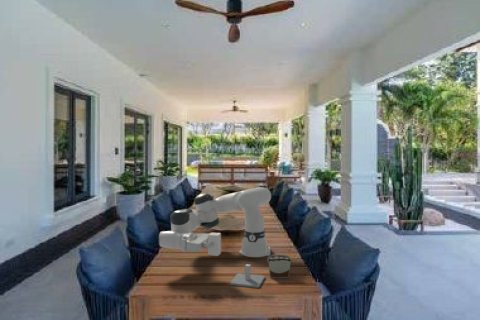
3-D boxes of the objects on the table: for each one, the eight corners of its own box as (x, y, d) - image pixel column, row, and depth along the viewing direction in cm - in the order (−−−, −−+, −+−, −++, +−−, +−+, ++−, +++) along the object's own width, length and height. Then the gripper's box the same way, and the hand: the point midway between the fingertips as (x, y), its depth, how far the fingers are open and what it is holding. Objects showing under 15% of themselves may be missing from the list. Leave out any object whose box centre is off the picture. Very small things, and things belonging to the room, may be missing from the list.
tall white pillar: (211, 252, 207) (211, 232, 206) (220, 253, 206) (220, 233, 205) (208, 255, 202) (208, 234, 201) (217, 255, 201) (217, 235, 200)
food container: (290, 273, 212) (290, 254, 211) (291, 277, 206) (292, 257, 205) (265, 273, 212) (266, 254, 211) (267, 277, 205) (267, 258, 205)
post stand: (237, 275, 209) (237, 259, 208) (265, 277, 205) (265, 261, 205) (229, 285, 196) (229, 268, 195) (258, 288, 192) (258, 271, 191)
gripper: (196, 241, 217) (221, 243, 214) (181, 253, 197) (208, 255, 194) (196, 229, 217) (221, 231, 213) (180, 239, 197) (208, 242, 193)
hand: (215, 243), depth 203 cm, fingers closed on tall white pillar, 5 cm apart
